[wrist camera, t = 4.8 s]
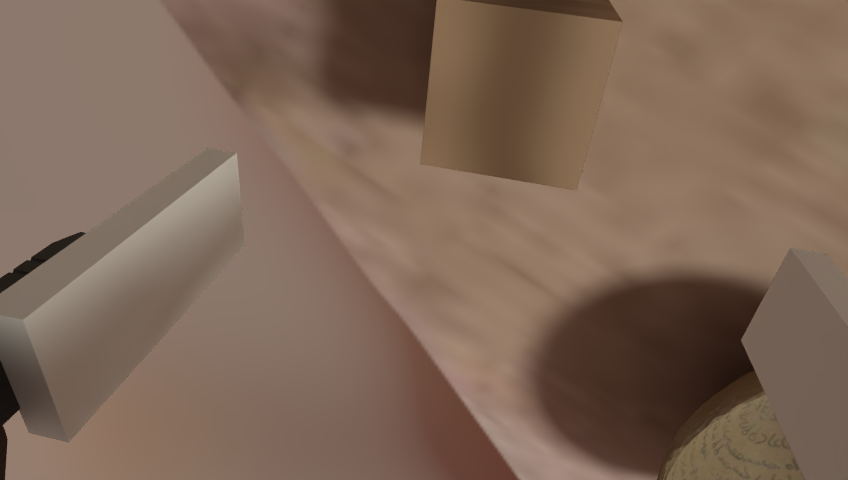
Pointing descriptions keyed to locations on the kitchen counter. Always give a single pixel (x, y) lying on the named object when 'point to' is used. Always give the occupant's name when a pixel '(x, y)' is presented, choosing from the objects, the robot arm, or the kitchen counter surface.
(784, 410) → the robot arm
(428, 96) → the walnut cube
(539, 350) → the kitchen counter surface
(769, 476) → the bowl
